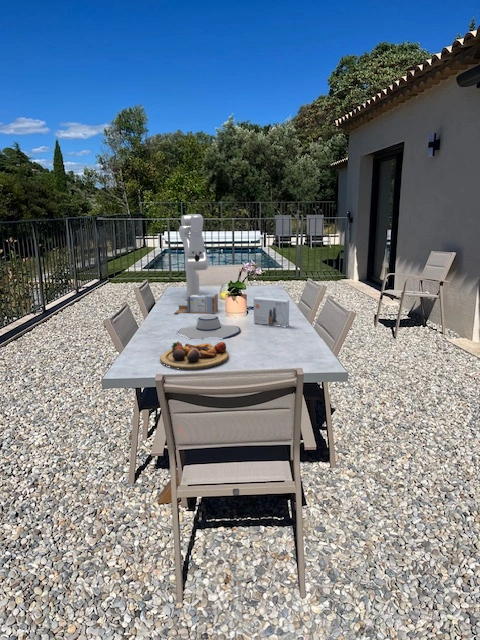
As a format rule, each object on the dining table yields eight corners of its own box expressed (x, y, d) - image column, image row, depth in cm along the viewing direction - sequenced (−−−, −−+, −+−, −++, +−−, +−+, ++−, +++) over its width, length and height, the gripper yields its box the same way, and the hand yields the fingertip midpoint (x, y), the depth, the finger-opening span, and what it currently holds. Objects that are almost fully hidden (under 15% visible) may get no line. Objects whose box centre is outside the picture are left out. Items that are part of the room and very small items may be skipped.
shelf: (179, 310, 307) (178, 293, 304) (218, 311, 303) (217, 293, 300) (174, 314, 295) (173, 296, 292) (214, 315, 291) (213, 297, 288)
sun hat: (250, 327, 265) (250, 312, 262) (224, 345, 233) (224, 328, 230) (195, 321, 278) (195, 307, 276) (164, 337, 246) (163, 321, 244)
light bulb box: (207, 310, 301) (207, 294, 298) (205, 312, 294) (205, 296, 292) (192, 310, 302) (191, 294, 300) (190, 312, 296) (189, 296, 293)
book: (209, 309, 303) (208, 294, 300) (215, 310, 302) (215, 294, 299) (206, 313, 294) (205, 296, 291) (213, 313, 293) (212, 296, 290)
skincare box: (253, 324, 270) (253, 298, 266) (256, 322, 274) (256, 296, 270) (286, 328, 261) (286, 301, 257) (289, 325, 265) (289, 299, 261)
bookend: (187, 309, 304) (187, 294, 302) (193, 309, 304) (192, 294, 301) (184, 312, 296) (183, 297, 293) (189, 312, 295) (189, 297, 292)
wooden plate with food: (230, 348, 225) (230, 332, 223) (226, 370, 194) (225, 352, 192) (167, 349, 226) (166, 333, 224) (153, 371, 195) (152, 353, 193)
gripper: (184, 234, 303) (185, 261, 307) (205, 234, 301) (206, 262, 305) (187, 234, 310) (188, 260, 314) (208, 234, 308) (209, 260, 312)
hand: (197, 261), depth 310 cm, fingers closed
